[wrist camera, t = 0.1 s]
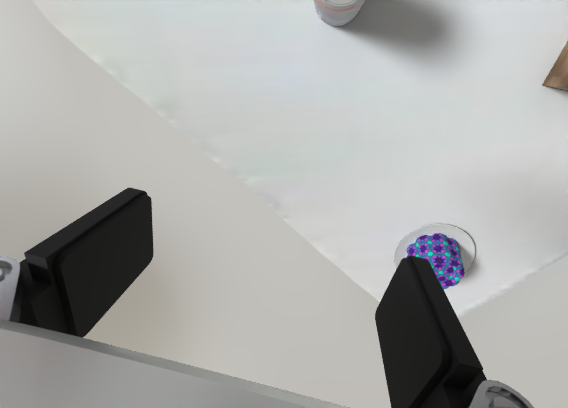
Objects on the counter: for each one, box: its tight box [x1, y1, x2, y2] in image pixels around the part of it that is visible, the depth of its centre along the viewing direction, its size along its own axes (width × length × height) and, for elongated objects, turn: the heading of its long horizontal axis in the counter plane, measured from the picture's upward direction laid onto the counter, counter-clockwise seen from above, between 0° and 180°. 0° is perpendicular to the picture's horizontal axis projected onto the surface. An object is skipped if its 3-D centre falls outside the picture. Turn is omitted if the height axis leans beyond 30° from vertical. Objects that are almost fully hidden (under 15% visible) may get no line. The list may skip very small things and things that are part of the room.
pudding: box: [394, 224, 475, 289], centre depth 43 cm, size 12×12×5 cm
